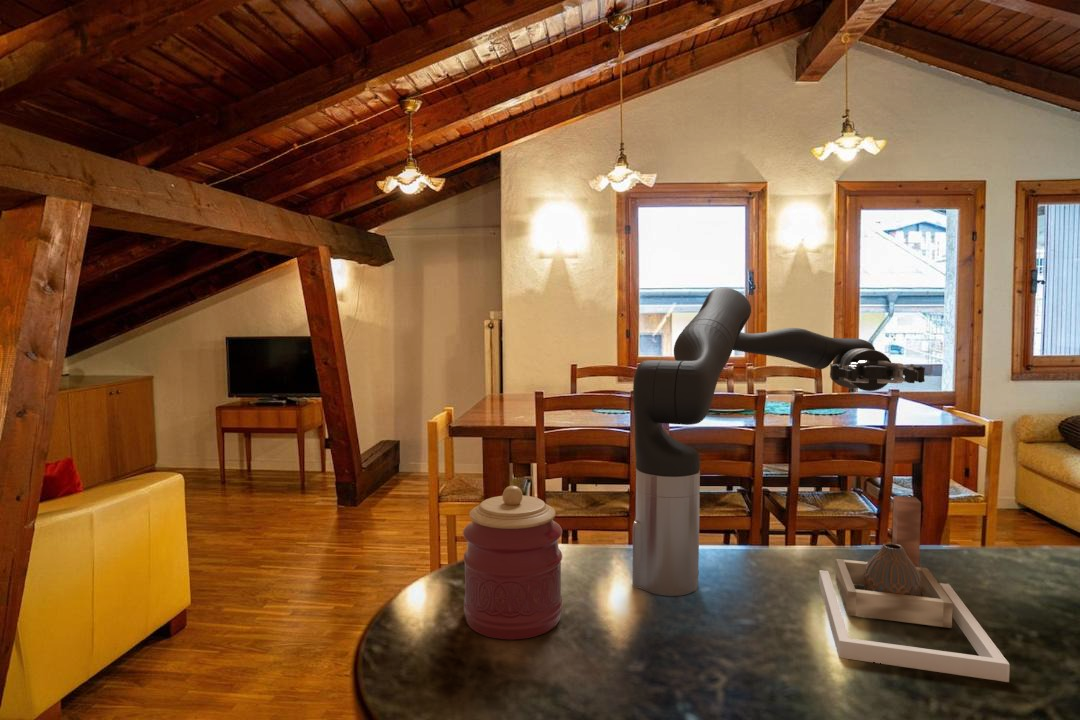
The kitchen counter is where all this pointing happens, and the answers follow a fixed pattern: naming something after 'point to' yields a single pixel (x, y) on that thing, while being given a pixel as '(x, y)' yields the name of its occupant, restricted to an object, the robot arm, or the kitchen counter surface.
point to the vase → (892, 572)
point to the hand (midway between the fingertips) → (883, 375)
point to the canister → (512, 567)
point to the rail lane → (981, 666)
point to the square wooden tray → (888, 605)
